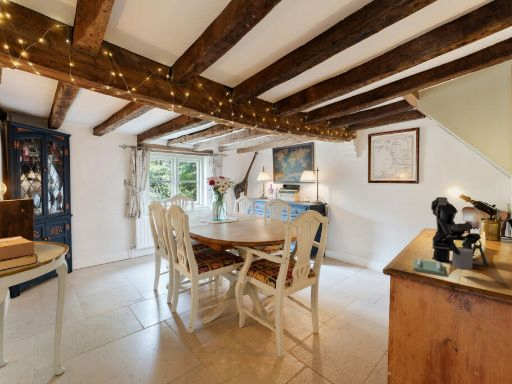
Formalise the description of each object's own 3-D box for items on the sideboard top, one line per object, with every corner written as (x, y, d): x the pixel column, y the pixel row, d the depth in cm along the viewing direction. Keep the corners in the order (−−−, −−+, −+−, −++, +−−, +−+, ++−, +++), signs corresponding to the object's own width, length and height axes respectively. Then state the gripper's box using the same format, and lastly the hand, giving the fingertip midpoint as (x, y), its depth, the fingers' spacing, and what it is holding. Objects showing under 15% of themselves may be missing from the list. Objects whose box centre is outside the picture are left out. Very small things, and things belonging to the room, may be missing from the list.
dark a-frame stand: (465, 262, 131) (466, 240, 130) (465, 260, 136) (466, 238, 135) (488, 266, 125) (490, 243, 124) (487, 263, 130) (489, 241, 129)
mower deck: (442, 265, 126) (442, 260, 126) (444, 276, 114) (444, 269, 113) (414, 261, 133) (414, 256, 133) (413, 270, 120) (413, 264, 120)
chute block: (462, 265, 116) (463, 246, 116) (472, 269, 111) (473, 250, 111) (452, 265, 116) (453, 247, 116) (461, 269, 111) (462, 250, 111)
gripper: (437, 216, 117) (453, 245, 107) (478, 216, 116) (499, 246, 105) (426, 228, 125) (440, 257, 115) (465, 229, 124) (482, 258, 114)
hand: (465, 254), depth 112 cm, fingers closed on chute block, 5 cm apart
